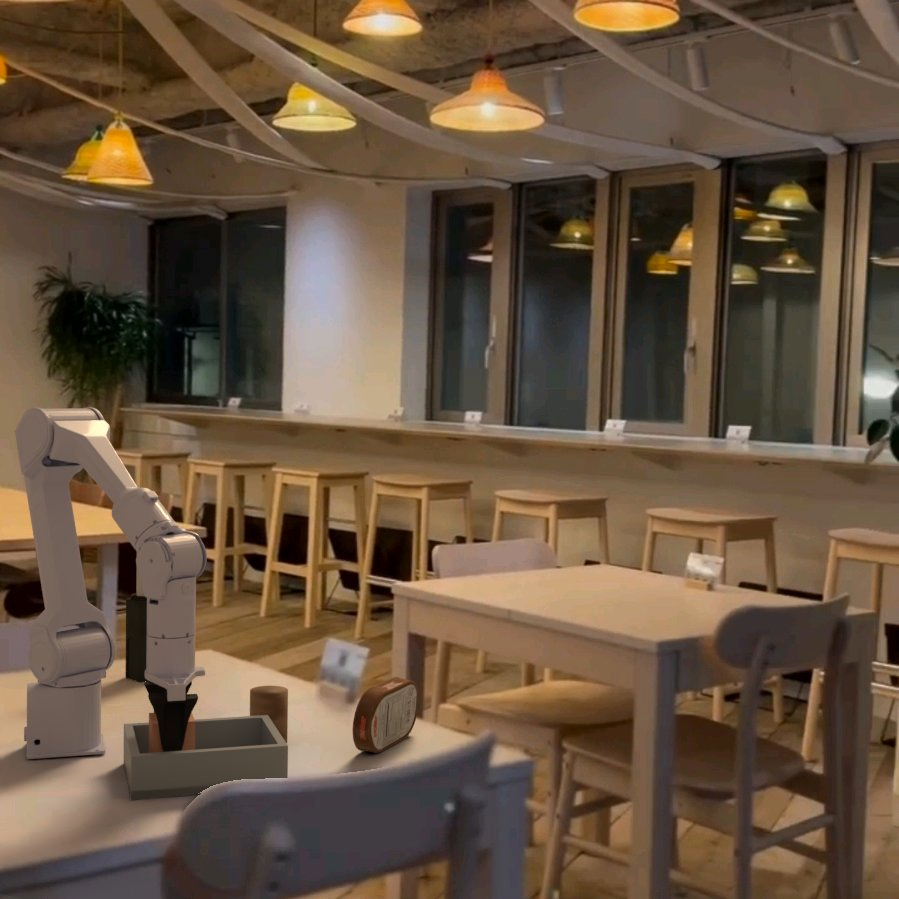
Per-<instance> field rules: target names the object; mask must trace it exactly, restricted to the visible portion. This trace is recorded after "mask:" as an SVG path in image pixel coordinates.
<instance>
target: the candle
mask: <svg viewBox="0 0 899 899" xmlns="http://www.w3.org/2000/svg"><path fill="white" fill-rule="evenodd" d="M138 557H139V554H138V553H137V552H136V558H138ZM146 655H147V597H145V596H144V592H143V583H142V579H141V577H140V575H139V572H138V569H137V568H136V592H134V593H131V595H130V597H126V599H125V675H124V676H125V679H127V678H129V680H131V679H132V680H131V681H134V680H136V681H138V682H137V683H144V682H145V681H149V680H147V679H145V670H146ZM136 681H135V682H136Z"/></svg>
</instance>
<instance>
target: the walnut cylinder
mask: <svg viewBox="0 0 899 899" xmlns="http://www.w3.org/2000/svg"><path fill="white" fill-rule="evenodd" d="M288 704H289V688H287V687H284V686H280V685H261V686H255V687H253V688H251V689H250V690H249V716H259V715H268V716H269V717H270V719H271V721H272V722H273V724H274V725H275V727H276V728H277V730H278V731H279V733H280V734H281V736H282V737H283V739H284V740H285V742H286V743H287V744H288V728H289V727H288V725H289V724H288V717H289V715H288V714H289V712H288V710H289V705H288Z"/></svg>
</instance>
